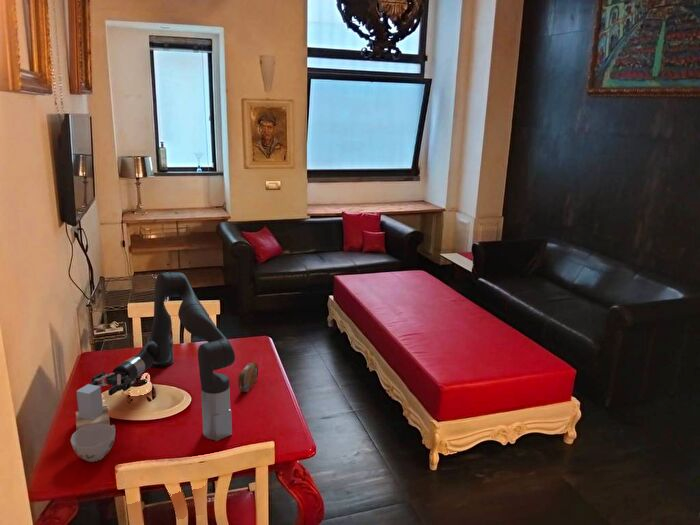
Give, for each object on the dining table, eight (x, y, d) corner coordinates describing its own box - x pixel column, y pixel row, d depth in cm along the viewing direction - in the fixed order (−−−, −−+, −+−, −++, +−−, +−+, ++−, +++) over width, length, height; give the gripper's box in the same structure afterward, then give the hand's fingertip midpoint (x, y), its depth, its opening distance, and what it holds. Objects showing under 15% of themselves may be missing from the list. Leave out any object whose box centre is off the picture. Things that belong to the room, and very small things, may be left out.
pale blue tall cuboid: (103, 412, 184) (100, 386, 181) (92, 420, 179) (89, 393, 176) (90, 410, 185) (88, 383, 183) (79, 417, 181) (76, 391, 178)
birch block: (110, 432, 181) (109, 419, 180) (77, 439, 177) (76, 426, 176) (108, 417, 190) (107, 405, 189) (77, 424, 185) (75, 411, 184)
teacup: (93, 473, 161) (91, 450, 158) (63, 462, 165) (60, 439, 163) (131, 446, 174) (129, 424, 172) (102, 436, 179) (100, 415, 176)
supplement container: (165, 355, 238) (164, 330, 235) (178, 363, 232) (177, 337, 228) (143, 363, 230) (141, 337, 227) (156, 371, 224) (154, 344, 221)
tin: (244, 396, 207) (244, 376, 205) (237, 394, 208) (236, 375, 205) (258, 378, 221) (258, 359, 219) (251, 377, 222) (251, 358, 220)
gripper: (112, 358, 200) (80, 377, 185) (145, 363, 196) (115, 384, 181) (114, 376, 202) (82, 397, 187) (146, 382, 198) (117, 404, 183)
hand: (98, 390), depth 184 cm, fingers open, 8 cm apart
